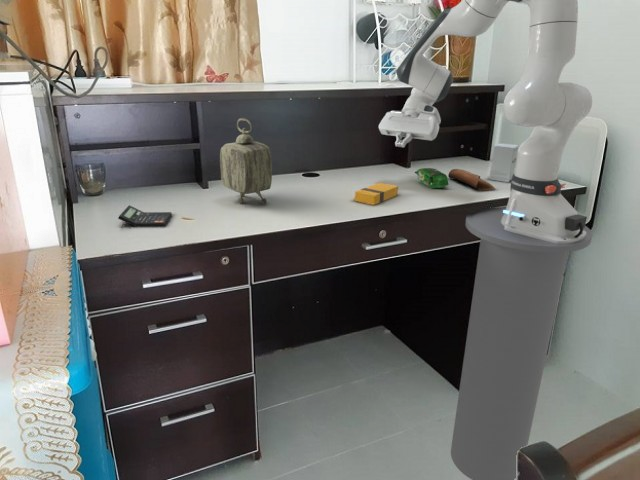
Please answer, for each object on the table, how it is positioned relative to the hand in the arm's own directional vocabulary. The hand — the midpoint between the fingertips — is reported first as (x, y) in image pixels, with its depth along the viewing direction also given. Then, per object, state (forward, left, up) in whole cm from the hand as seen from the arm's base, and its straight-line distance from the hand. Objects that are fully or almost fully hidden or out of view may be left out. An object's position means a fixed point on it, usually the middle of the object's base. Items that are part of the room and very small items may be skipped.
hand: (399, 145), depth 165 cm
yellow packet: (-2, +5, -13) cm, 14 cm away
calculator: (+12, +80, -15) cm, 83 cm away
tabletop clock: (+14, +49, -15) cm, 53 cm away
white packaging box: (-9, -45, -15) cm, 48 cm away
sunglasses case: (-8, -29, -15) cm, 33 cm away
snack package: (-1, -16, -15) cm, 22 cm away
